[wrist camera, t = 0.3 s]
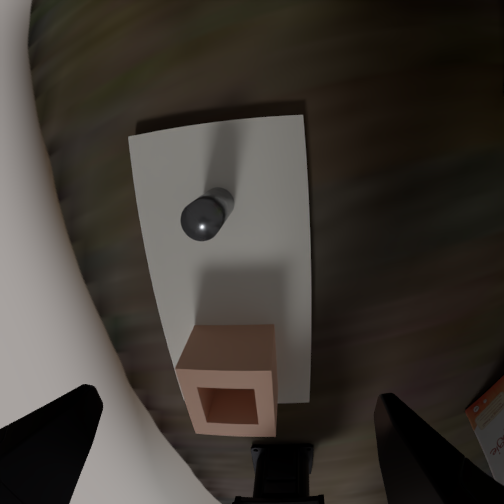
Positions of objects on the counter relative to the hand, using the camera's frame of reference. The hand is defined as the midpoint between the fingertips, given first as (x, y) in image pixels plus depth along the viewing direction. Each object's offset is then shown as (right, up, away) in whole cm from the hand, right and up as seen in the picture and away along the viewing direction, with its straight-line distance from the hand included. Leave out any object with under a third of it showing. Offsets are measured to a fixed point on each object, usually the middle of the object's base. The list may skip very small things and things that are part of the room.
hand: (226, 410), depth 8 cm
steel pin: (-1, +8, +12) cm, 14 cm away
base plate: (-1, +2, +14) cm, 14 cm away
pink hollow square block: (0, -4, +15) cm, 15 cm away
